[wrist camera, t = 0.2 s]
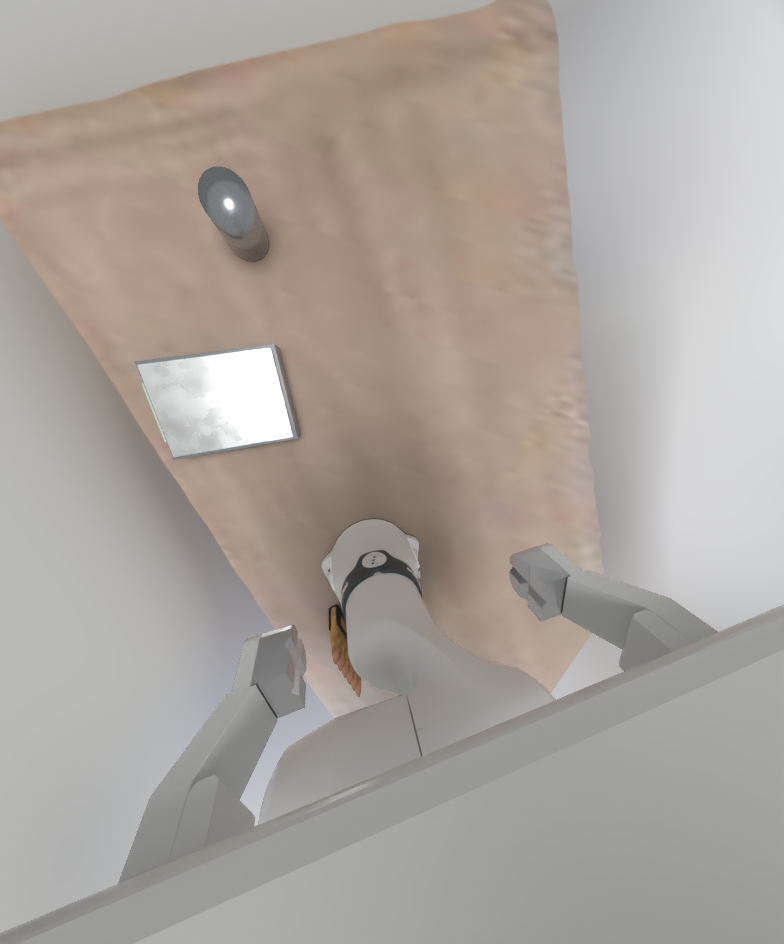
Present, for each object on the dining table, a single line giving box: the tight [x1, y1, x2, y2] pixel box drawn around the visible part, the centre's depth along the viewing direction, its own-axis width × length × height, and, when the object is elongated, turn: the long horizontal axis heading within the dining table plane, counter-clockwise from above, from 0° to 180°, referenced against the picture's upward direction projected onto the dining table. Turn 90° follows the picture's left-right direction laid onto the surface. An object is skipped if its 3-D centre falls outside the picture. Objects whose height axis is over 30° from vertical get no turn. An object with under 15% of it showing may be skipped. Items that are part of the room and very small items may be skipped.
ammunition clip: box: [329, 605, 361, 697], centre depth 53 cm, size 11×2×12 cm, turn 23°
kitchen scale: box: [135, 344, 301, 460], centre depth 41 cm, size 13×18×5 cm
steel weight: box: [198, 167, 269, 262], centre depth 34 cm, size 5×5×9 cm
